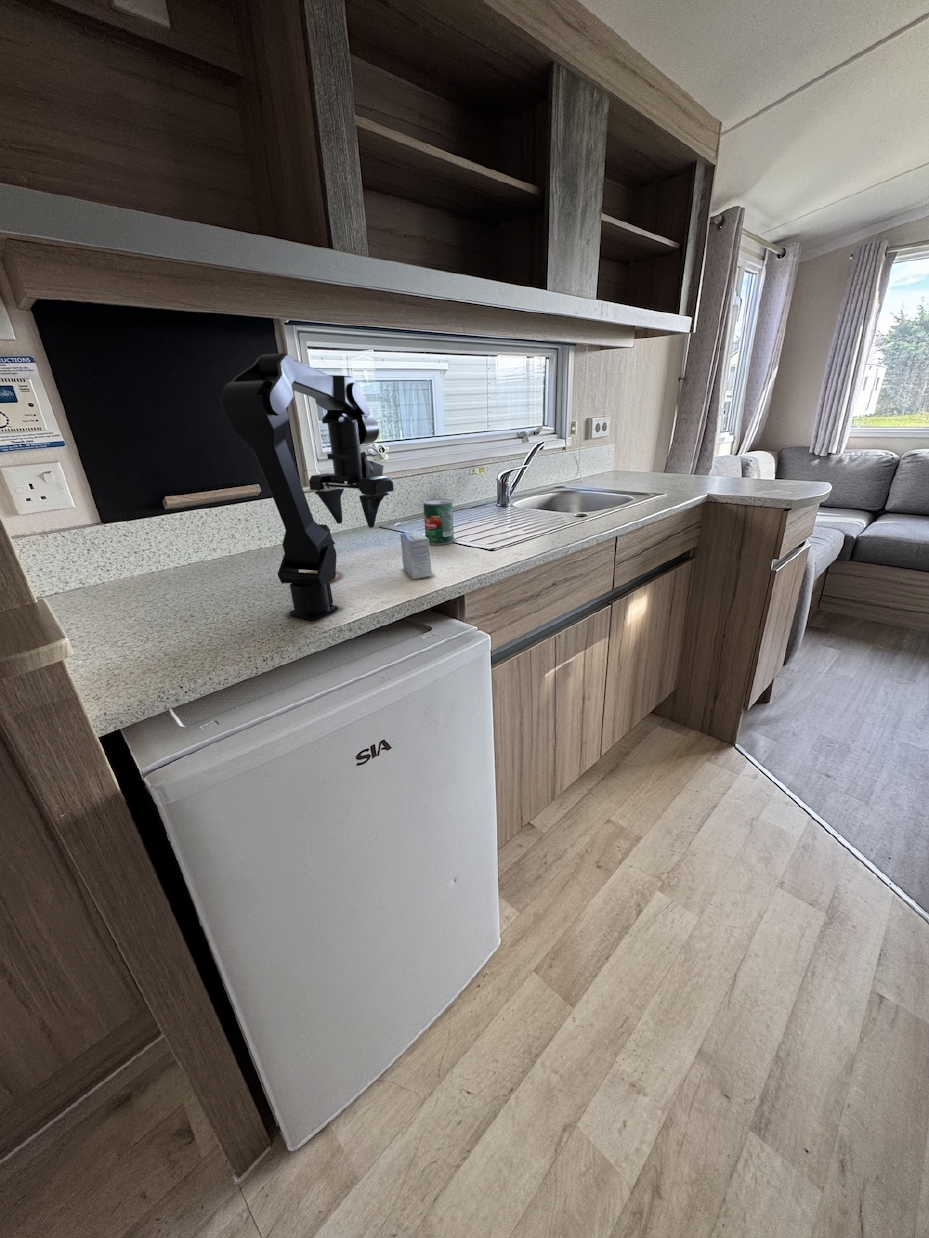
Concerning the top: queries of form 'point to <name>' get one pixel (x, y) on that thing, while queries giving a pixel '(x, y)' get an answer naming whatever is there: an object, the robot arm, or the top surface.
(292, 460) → the robot arm
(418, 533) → the medicine box
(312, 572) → the cork coaster
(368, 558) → the top surface
